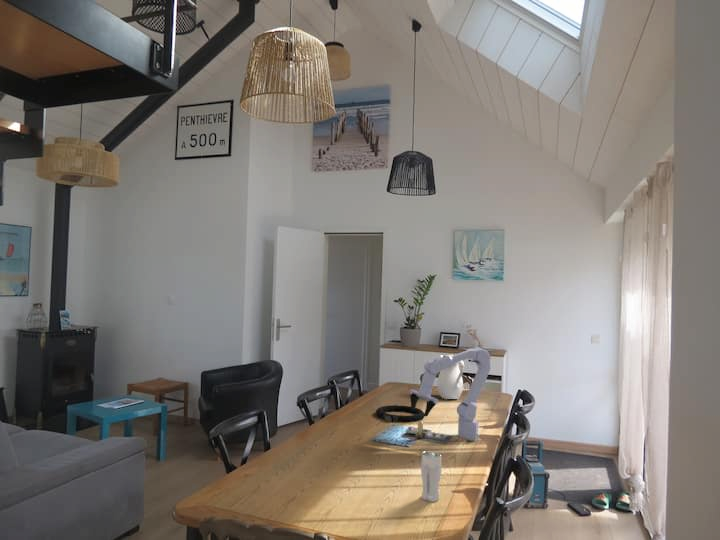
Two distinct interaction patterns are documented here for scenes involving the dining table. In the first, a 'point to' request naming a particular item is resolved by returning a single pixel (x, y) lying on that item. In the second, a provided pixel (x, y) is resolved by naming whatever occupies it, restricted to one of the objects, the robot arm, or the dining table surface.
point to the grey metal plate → (427, 434)
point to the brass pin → (420, 430)
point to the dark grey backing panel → (413, 436)
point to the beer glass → (430, 475)
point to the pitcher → (451, 381)
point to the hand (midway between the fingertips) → (419, 413)
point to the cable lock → (399, 418)
